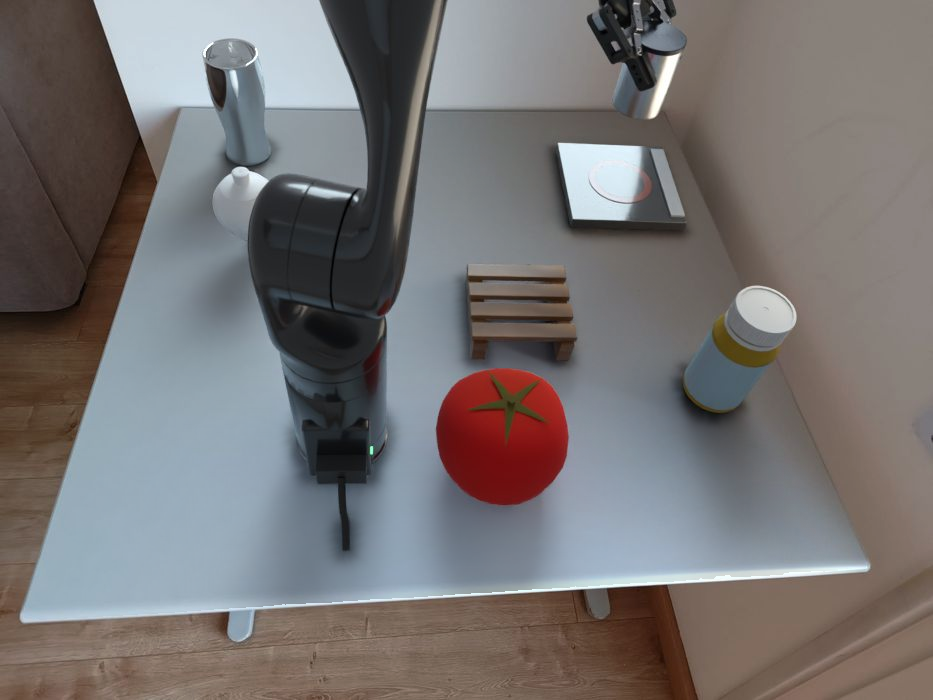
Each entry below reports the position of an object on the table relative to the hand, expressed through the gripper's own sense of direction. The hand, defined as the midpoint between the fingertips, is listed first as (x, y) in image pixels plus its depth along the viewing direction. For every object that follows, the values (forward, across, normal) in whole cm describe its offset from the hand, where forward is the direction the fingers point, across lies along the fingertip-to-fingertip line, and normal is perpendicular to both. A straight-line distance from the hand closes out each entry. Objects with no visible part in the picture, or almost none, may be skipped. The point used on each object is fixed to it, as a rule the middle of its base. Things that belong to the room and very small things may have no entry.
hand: (661, 74), depth 82 cm
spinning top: (-8, -36, +38) cm, 53 cm away
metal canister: (+2, 0, +5) cm, 5 cm away
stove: (+14, +4, +16) cm, 22 cm away
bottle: (+31, -20, -2) cm, 37 cm away
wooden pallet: (+15, -25, +15) cm, 33 cm away
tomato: (+21, -43, +9) cm, 48 cm away
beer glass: (-17, -24, +48) cm, 56 cm away
